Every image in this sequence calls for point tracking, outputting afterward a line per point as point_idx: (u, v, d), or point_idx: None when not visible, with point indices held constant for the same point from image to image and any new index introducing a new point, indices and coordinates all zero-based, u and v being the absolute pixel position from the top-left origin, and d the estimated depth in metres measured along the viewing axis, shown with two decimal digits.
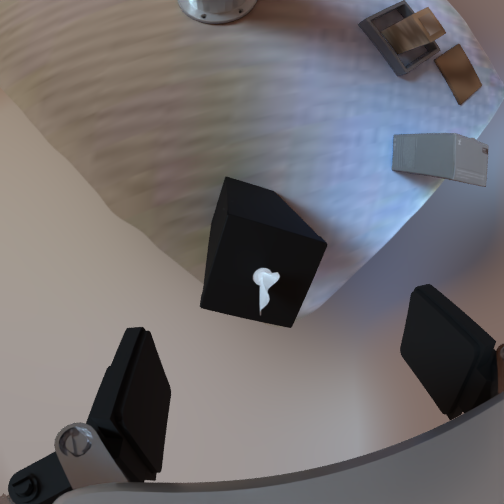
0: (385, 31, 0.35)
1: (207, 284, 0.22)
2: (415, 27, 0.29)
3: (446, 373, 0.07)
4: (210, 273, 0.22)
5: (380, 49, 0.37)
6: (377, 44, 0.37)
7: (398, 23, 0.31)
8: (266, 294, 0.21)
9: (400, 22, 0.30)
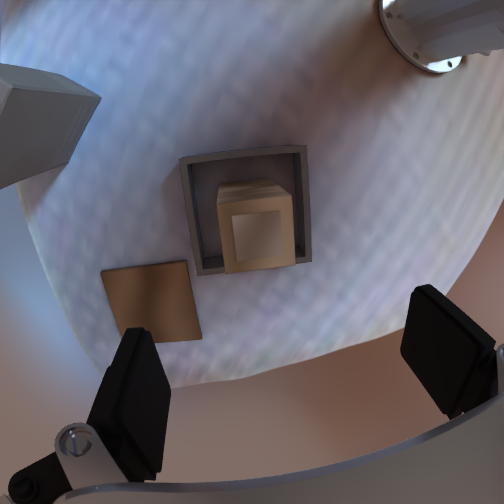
0: (268, 180, 0.28)
1: None
2: (261, 196, 0.20)
3: (446, 373, 0.07)
4: None
5: None
6: (251, 148, 0.27)
7: (277, 187, 0.23)
8: None
9: (279, 188, 0.23)
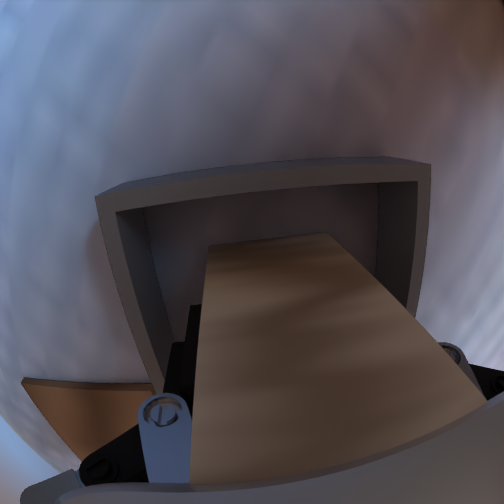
0: (329, 243, 0.11)
1: None
2: (381, 407, 0.04)
3: None
4: None
5: (262, 164, 0.11)
6: (290, 162, 0.11)
7: (389, 301, 0.07)
8: None
9: (401, 313, 0.06)
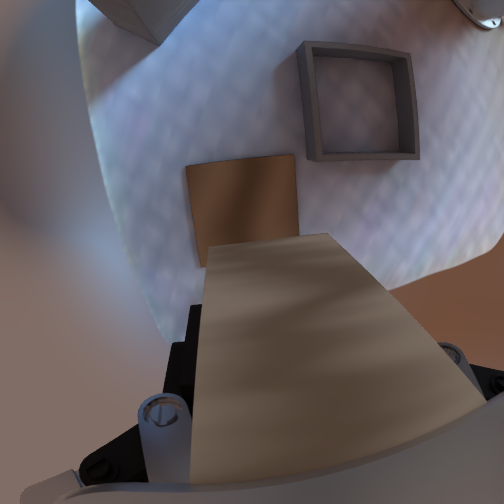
0: (329, 244, 0.11)
1: None
2: (382, 409, 0.04)
3: None
4: None
5: None
6: None
7: (390, 302, 0.07)
8: None
9: (402, 315, 0.06)
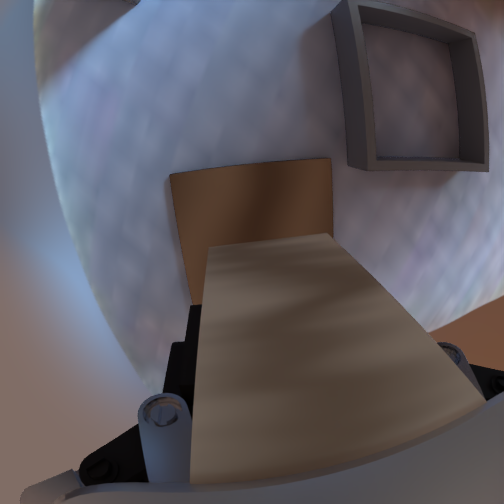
0: (329, 244, 0.11)
1: None
2: (382, 410, 0.04)
3: None
4: None
5: None
6: None
7: (390, 303, 0.07)
8: None
9: (402, 315, 0.06)
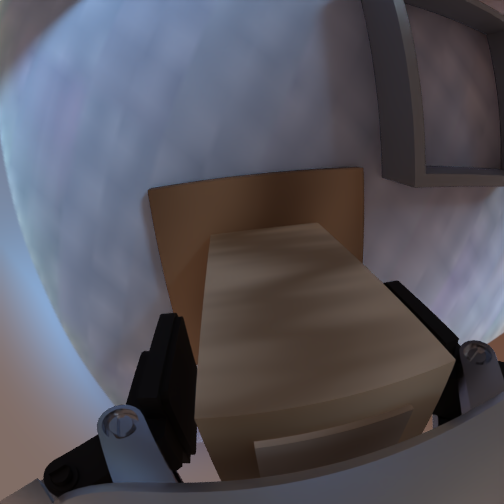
0: (319, 231, 0.13)
1: None
2: (355, 354, 0.05)
3: None
4: None
5: None
6: None
7: (368, 276, 0.08)
8: None
9: (378, 286, 0.08)
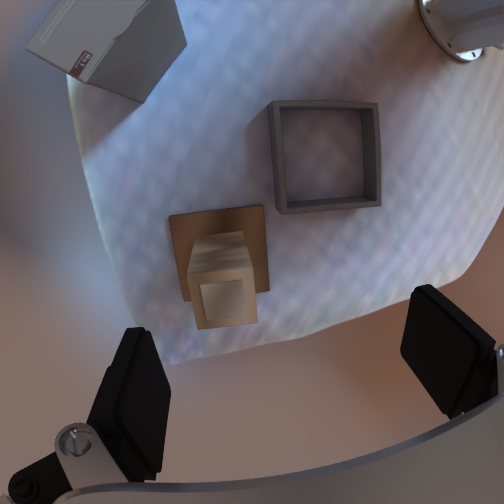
0: (239, 234, 0.30)
1: None
2: (227, 265, 0.23)
3: (446, 373, 0.07)
4: None
5: None
6: None
7: (245, 249, 0.26)
8: None
9: (245, 251, 0.26)
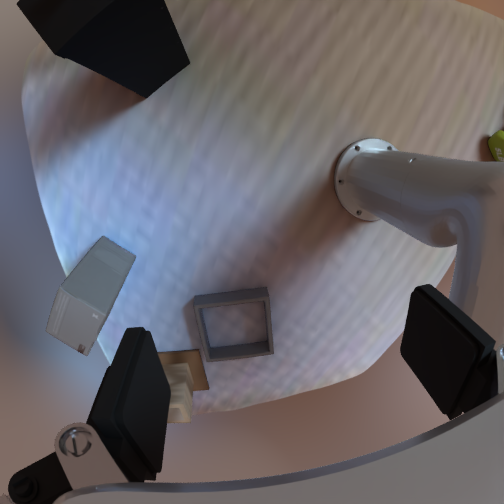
0: (185, 368, 0.48)
1: None
2: (172, 399, 0.41)
3: (446, 373, 0.07)
4: None
5: (230, 293, 0.45)
6: (236, 293, 0.45)
7: (183, 386, 0.44)
8: None
9: (183, 388, 0.44)
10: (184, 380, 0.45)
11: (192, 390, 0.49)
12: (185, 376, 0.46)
